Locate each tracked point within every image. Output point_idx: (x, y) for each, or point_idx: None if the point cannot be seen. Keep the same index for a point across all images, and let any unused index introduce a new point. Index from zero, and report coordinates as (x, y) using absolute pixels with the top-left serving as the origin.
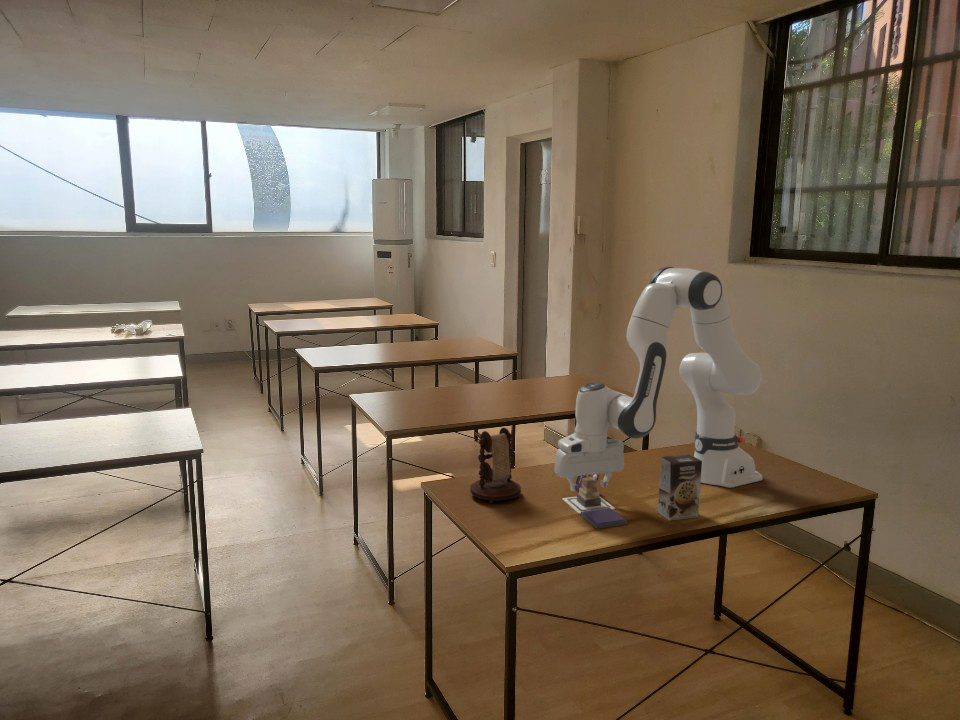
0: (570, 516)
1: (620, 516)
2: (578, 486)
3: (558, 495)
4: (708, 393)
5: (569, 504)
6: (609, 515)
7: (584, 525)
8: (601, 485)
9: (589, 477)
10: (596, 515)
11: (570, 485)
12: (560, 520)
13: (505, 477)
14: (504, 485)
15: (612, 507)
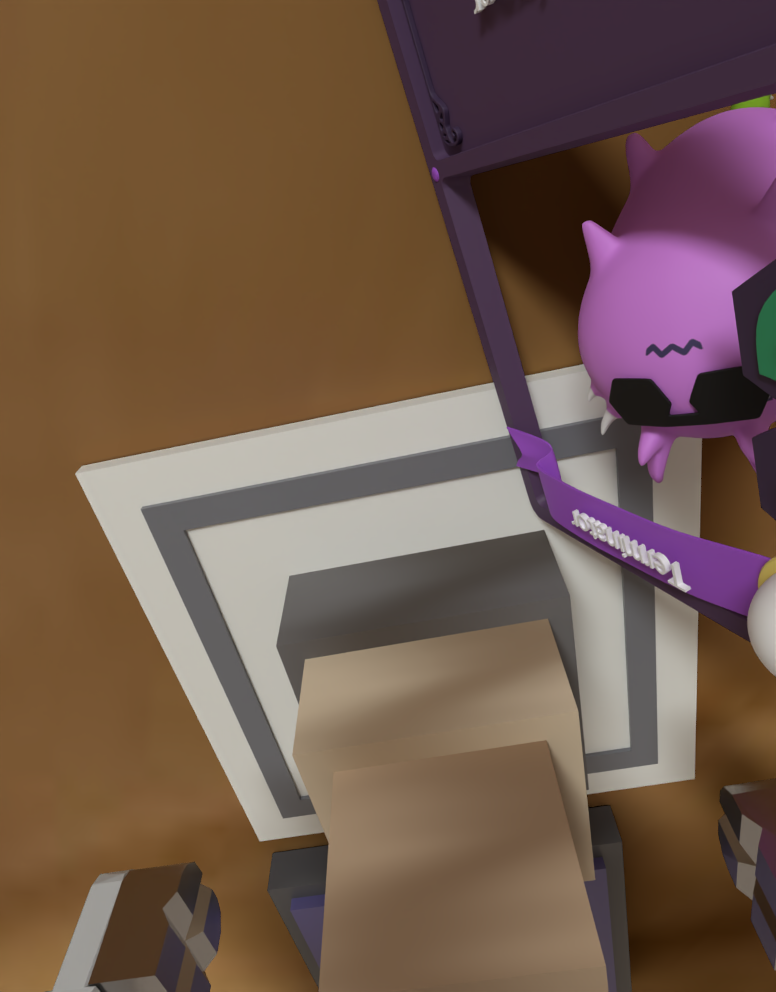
0: (165, 860)
1: (613, 989)
2: (443, 30)
3: (7, 291)
4: None
5: (171, 663)
6: None
7: (270, 974)
8: (728, 825)
9: (528, 980)
10: None
11: (74, 952)
12: (65, 910)
13: None
14: None
15: (674, 763)
